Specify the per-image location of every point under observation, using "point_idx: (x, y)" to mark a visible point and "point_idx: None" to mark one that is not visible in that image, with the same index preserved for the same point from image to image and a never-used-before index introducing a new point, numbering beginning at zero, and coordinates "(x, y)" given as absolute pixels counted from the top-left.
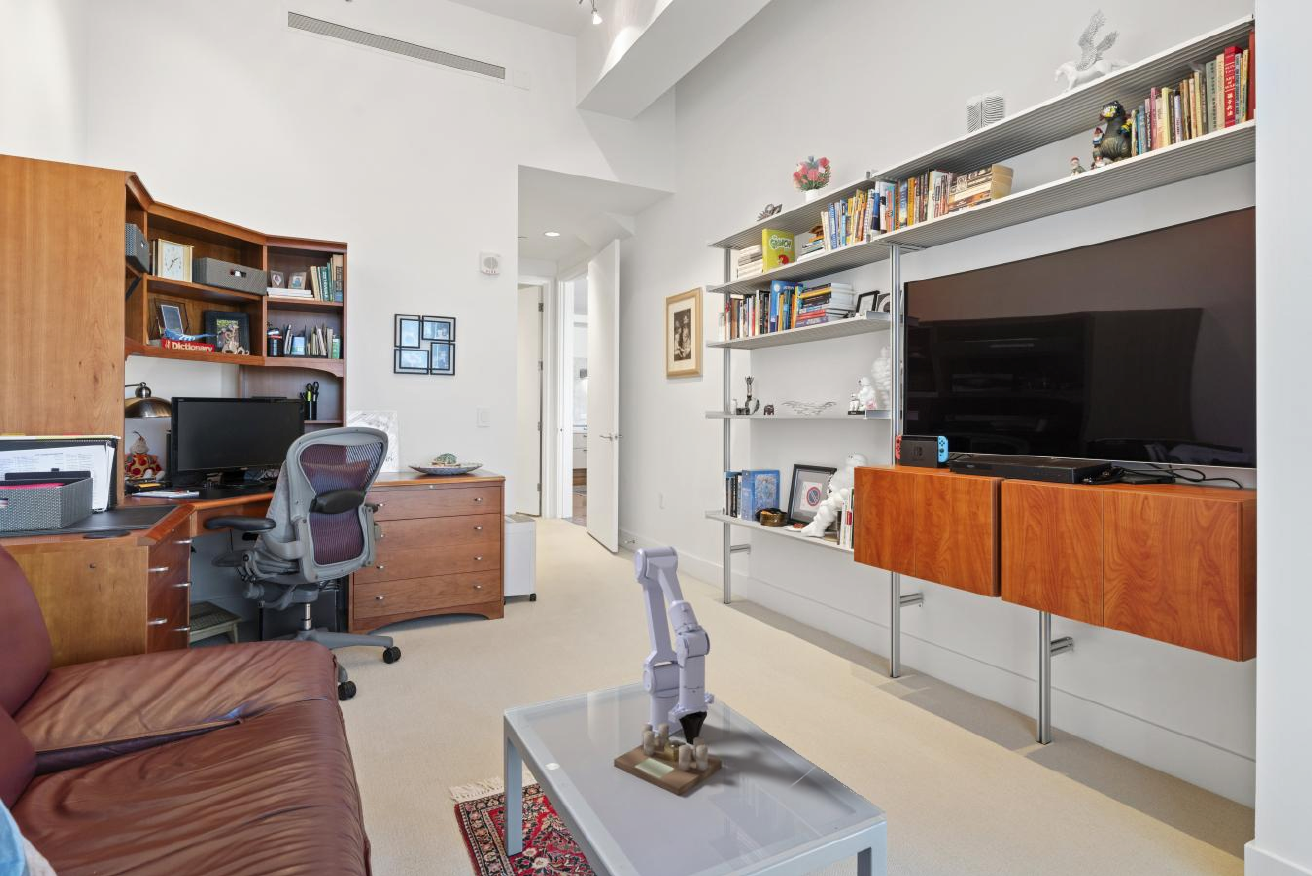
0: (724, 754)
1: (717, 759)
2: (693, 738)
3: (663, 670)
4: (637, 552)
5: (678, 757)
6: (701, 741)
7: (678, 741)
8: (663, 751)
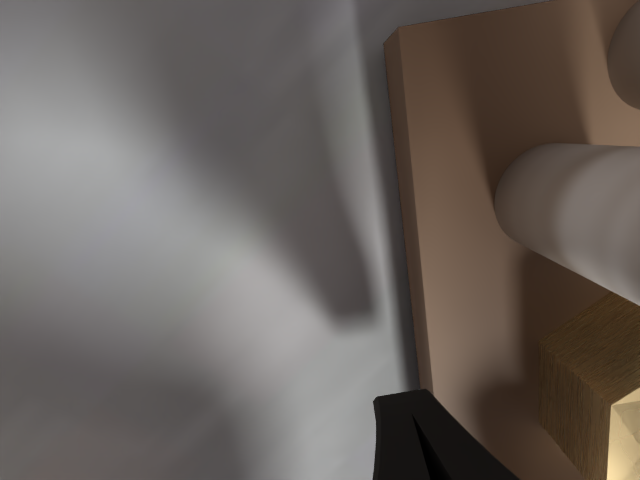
0: (188, 210)
1: (411, 79)
2: (468, 436)
3: None
4: None
5: None
6: None
7: (629, 474)
8: None
